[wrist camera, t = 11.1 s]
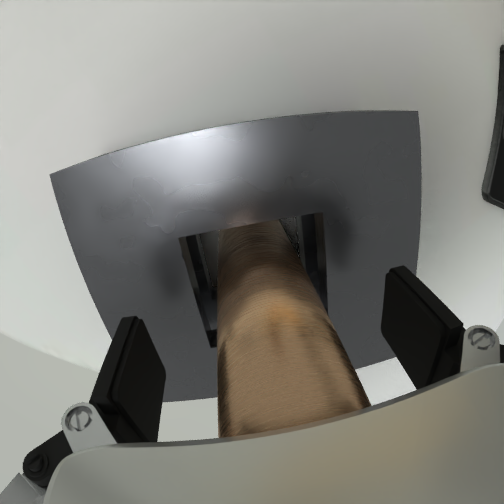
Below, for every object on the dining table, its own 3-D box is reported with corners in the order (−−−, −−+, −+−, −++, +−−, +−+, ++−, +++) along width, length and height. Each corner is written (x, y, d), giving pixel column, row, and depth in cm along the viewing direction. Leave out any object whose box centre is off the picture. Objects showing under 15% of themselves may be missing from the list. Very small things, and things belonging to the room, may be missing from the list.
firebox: (361, 110, 16) (420, 111, 10) (367, 303, 22) (403, 356, 16) (99, 155, 16) (47, 175, 10) (160, 342, 22) (147, 405, 16)
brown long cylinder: (212, 212, 18) (197, 510, 4) (278, 200, 18) (429, 457, 4) (226, 277, 20) (244, 543, 5) (287, 266, 20) (381, 514, 5)
